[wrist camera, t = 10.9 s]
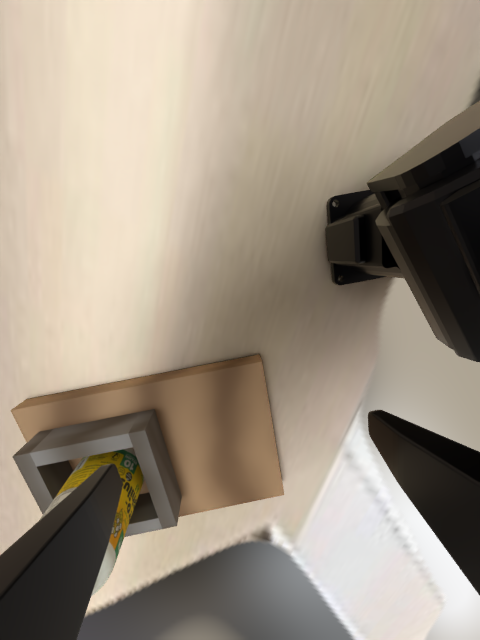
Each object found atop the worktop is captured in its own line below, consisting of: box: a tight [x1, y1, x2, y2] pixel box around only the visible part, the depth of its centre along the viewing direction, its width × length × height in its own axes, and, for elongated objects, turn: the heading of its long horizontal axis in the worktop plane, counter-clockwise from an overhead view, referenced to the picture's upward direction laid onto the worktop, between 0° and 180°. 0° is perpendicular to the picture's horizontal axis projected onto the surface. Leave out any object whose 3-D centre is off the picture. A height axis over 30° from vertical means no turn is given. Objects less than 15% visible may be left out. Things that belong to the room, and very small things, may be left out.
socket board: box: [11, 354, 284, 537], centre depth 20 cm, size 20×14×4 cm
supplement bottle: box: [38, 448, 144, 596], centre depth 16 cm, size 5×5×10 cm
